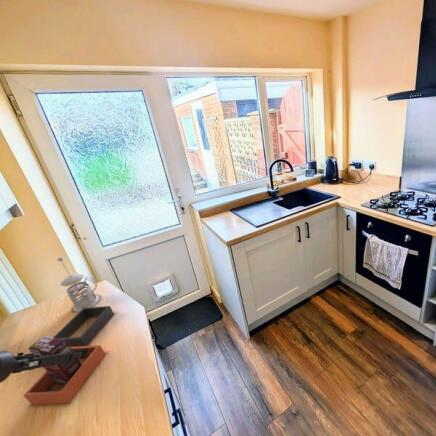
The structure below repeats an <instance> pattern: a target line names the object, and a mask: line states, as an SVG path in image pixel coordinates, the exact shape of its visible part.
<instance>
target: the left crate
mask: <svg viewBox="0 0 436 436" xmlns="http://www.w3.org/2000/svg"><path fill="white" fill-rule="evenodd" d="M70 348H71V349H72V351H75V350H81V349H87V348H88V353H87V358H85V360H84V362H83V363H82V366H81V367H80V368H79V369H78V370H77V372H76V373H75V374H74V375H73V377H72V378H71V379H70V380H69V382H68V383H67V384H65V386H64V387H62V388H61V389H60V390H53V391H52V390H50V391H47V390H48V389H49V388H50V387H51V386H52V384H54V382H55V381H54V379H53V378H52V377H51V376H50V375H49V373H48V372H47V371H46V370H45V372H43V374H42V375H41V376H40V377H39V378H38V379H37V380H36V381H35V382H34V383H33V384H32V385H31V386H30V387H29V388H28V389H27V391H26V392H25V393H24V394H23V397H24V398H25V399H26V401H27V402H29V404H31V405H33V406H34V405H49V404H50V405H51V404H52V405H53V404H69V403H70V402H71V400H72V399H73V398H74V397H75V395H76V394H77V393H78V392H79V390H80V388H81V387H82V386H83V385H84V383H85V382H86V380H87V379H88V378H89V377H90V375H91V374H92V372H93V371H94V370H95V369H96V367H97V366H98V364H99V363H100V362H101V361H102V359H103V358H104V357H105V355H106V352H105V351H104V349H103V347H102V346H101V345H100V344H97V345H87V346H79V347H70Z"/></svg>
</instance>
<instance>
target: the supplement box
mask: <svg viewBox="0 0 436 436" xmlns="http://www.w3.org/2000/svg"><path fill="white" fill-rule="evenodd" d="M28 351H29V352H30V354H31V353H32V354H33V355H39V356H46V355H54V354H62V353H67V352H70V351H72V349H71V348H70V346H69V345H68V343H67V342H66V341H65V340H64V339H57V338H53V336H52V337H51V336H47V335H43V336H42V337H41V338H40V339H38V340H37V341H35V342H34V343H33V344H31V345H30V346H29V347H28ZM82 364H83V363H82V362H81V360H75V361H74V362H72V363H69V365H66V363H64V364H59V365H53V366H47V367H43V369H44V370H45V372H46V371H47V372H48V373H49V375H50V376H51V377H52V378H53V379H54V382H57V383H61V384H65V385H66V384H67V383H68V382H69V380H70V379H71V378H72V377H73V375H74V374H75V373H76V372H77V370H78V369H79V368H80V367H81V366H82Z"/></svg>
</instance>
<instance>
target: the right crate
mask: <svg viewBox="0 0 436 436" xmlns="http://www.w3.org/2000/svg"><path fill="white" fill-rule="evenodd" d="M114 315H115V313H114V310H113V309H112V307H111V306H110V305H105V306H104V305H103V306H92V307H89V308H83V309H82V310H81V311H79V312H77V313H76V314H75V315H74V316H73V317H72V318H71V319H70V320H69V321H68V322H67V323H65V325H64V326H62V328H61V329H60V330H59V331H57V333H55V335H54V336H52V338H57V339H64V340H65V341H66V342H67V343H68V345H69V346H70V347H79V346H89V344H90V343H91V342H92V341H93V339H94V338H95V337H96V336H97V335H98V334H99V332H100V331H101V330H102V329H103V328H104V326H105V325H107V324H108V322H109V321H110V320H111V318H112V317H113V316H114ZM93 317H97V318H96V319H94V320H93V322H92V323H91V324H90V325H89V326H88V327H87V329H85V330H84V332H83V333H82V334H81V335H80V336H72V335H73V334H74V333H75V332H76V331H77V330H78V329H79V328H80V327H81V326H82V325H83V324H84V323H85V322H86V320H87V319H89V318H93Z"/></svg>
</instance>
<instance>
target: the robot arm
mask: <svg viewBox="0 0 436 436" xmlns="http://www.w3.org/2000/svg"><path fill="white" fill-rule="evenodd" d="M87 353H88V348H87V349H81V350H75V351H70V352H67V353H62V354H54V355H46V356H39V355H33V354H32V353H31V352H30V353H25V354H24V352H17V354H16V355H14V354H13V352H11V351H9V350H0V384H1V383H3V382H4V381H6V380H7V379H8V378H9V377H10V376H11V374H19V373H22V372H25V371H33V370H36V369H40V368H41V369H42V368H44V367H47V366H53V365H59V364H64V363H66V365H69V363H72V362H74V361H75V360H79V361H81V360H84V359H87V358H88V357H87Z"/></svg>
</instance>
